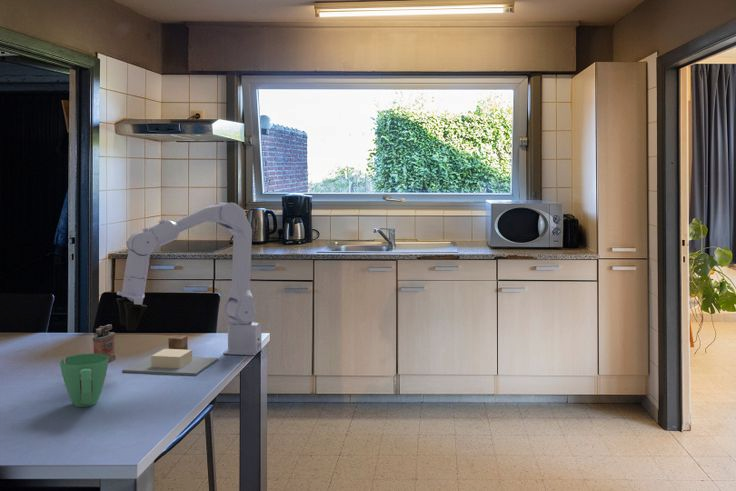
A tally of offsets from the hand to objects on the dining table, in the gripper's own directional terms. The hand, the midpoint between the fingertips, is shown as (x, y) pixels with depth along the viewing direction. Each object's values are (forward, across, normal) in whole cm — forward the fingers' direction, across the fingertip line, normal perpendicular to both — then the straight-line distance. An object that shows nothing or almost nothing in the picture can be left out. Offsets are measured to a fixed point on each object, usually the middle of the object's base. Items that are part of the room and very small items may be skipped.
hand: (127, 327), depth 177 cm
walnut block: (+8, -7, +17) cm, 20 cm away
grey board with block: (+9, +5, +12) cm, 16 cm away
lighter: (+11, -8, -3) cm, 14 cm away
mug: (+13, +30, -14) cm, 35 cm away
